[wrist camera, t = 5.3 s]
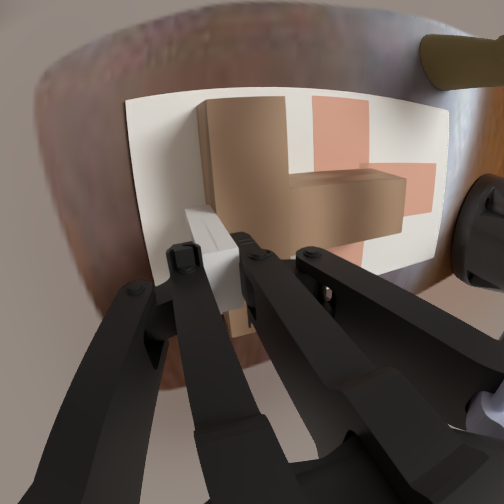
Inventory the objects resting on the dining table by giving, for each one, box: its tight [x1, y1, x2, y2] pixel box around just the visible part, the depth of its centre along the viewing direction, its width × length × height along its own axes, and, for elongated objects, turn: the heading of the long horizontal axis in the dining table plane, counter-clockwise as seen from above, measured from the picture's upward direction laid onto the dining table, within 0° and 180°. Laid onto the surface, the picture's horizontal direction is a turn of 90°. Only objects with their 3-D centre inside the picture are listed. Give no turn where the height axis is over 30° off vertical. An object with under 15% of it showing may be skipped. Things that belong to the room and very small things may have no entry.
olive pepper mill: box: [420, 34, 504, 91], centre depth 14 cm, size 6×6×11 cm
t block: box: [196, 96, 407, 338], centre depth 19 cm, size 13×14×4 cm
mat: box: [125, 87, 449, 314], centre depth 21 cm, size 28×16×1 cm, turn 94°
